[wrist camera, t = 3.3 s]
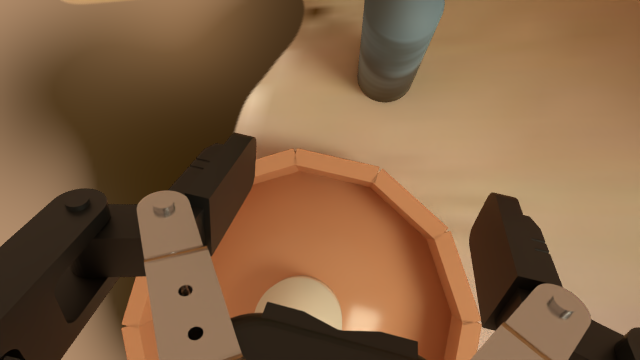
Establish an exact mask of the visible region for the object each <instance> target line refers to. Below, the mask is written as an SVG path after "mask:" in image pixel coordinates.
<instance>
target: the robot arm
mask: <svg viewBox="0 0 640 360" xmlns="http://www.w3.org/2000/svg"><path fill="white" fill-rule="evenodd" d="M255 164H256V138H255V137H251V136H247V135H243V134H238V133H233V134H232V135H231V136H230V137H229V139H228V140H227V141H226V142H225V144H224V145H223V144H218V143H215V144H213V145H211V146H209V147H207V148H206V149H204V150H203V151H202V152H201V153H200V154H199V156H198V157H197V158H196V160H194V161H193V162H192V163H191V165H190V167H188V168H187V169H186V170H185V171H184V173H183V174H182V175H181V176H180V177H179V178H178V179H177V180H176V182H175V183H174V184H173V185H172V186H171V187H170V189H169V190H168V191H158V192H154V193H152V194H150V195H147V196H146V197H144V198H143V199H142V200H141V201H140V202H139V203H138V204H134V205H123V204H122V205H119V204H108V202H107V198H106V196H105V195H104V194H103V193H102V192H100V191H98V190H94V189H76V190H72V191H68V192H66V193H63V194H61V195H59V196H58V197H56V198H55V199H54V200H53V201H51V202H50V203H49V204H48V205H47V206H46V207H45V208H44V209H42V210H41V211H40V212H39V213H38V214H37V215H36V216H35V217H33V218H32V219H31V220H30V221H29V222H28V223H27V224H26V225H24V226H23V227H22V228H21V229H20V230H19V231H18V232H16V233H15V234H14V235H13V236H12V237H11V238H10V239H9V240H7V241H6V242H5V243H4V244H3V245H2V246H1V247H0V360H61V358H62V357H63V355H64V354H65V353H66V351H67V350H68V348H69V347H70V346H71V344H72V343H73V342H74V340H75V339H76V337H77V336H78V335H79V333H80V332H81V330H82V329H83V328H84V326H85V325H86V323H87V322H88V321H89V319H90V318H91V316H92V315H93V314H94V312H95V311H96V309H97V308H98V307H99V305H100V303H101V302H102V301H103V300H104V298H105V297H106V295H107V294H108V293H109V291H110V290H111V288H112V287H113V285H114V284H115V283H116V281H117V280H118V279H119V277H142V276H146V279H147V286H148V292H149V299H150V305H151V312H152V318H153V325H154V331H155V338H156V344H157V351H158V357H159V360H426V359H425V358H423V357H422V356H420V355H418V341H414V340H410V339H407V338H403V337H399V336H395V335H392V334H388V333H384V332H380V331H344V330H338V329H336V328H334V327H332V326H330V325H328V324H327V323H325V322H323V321H321V320H319V319H317V318H315V317H313V316H312V315H310V314H308V313H306V312H304V311H301V310H297V309H294V308H290V307H286V306H282V305H278V304H275V303H271V302H267V303H266V306H265V309H264V311H263V313H248V314H243V315H238V316H235V317H232V318H230V316H229V313H228V309H227V306H226V303H225V300H224V297H223V294H222V291H221V287H220V284H219V281H218V278H217V275H216V272H215V269H214V266H213V262H212V259H211V256H212V255H213V254H214V252H215V250H216V249H217V247H218V245H219V243H220V242H221V240H222V238H223V237H224V235H225V233H226V231H227V230H228V228H229V226H230V225H231V223H232V221H233V220H234V218H235V216H236V214H237V213H238V211H239V209H240V208H241V206H242V204H243V203H244V201H245V199H246V197H247V196H248V194H249V192H250V190H251V188H252V186H253V182H254V178H255ZM469 246H470V252H471V258H472V265H473V271H474V278H475V284H476V290H477V297H478V303H479V310H480V316H481V322H482V327H483V328H487V329H491V330H495V332H494V333H493V334H492V336H491V337H490V338H489V339H488V340H487V341H486V342H485V344H484V345H483V346H482V347H481V348H480V349H479V350H478V351H477V353H476V354H475V355H474V356H473V357H472V358H471V359H470V360H640V328H633V329H631V330H630V331H629V332H628V333H627V334H626V335H624V336H623V335H621V334H619V333H617V332H615V331H613V330H611V329H609V328H607V327H605V326H603V325H601V324H599V323H597V322H595V321H593V320H592V319H591V315H590V313H589V311H588V309H587V307H586V306H585V304H584V303H583V302H582V301H581V300H580V299H579V298H578V297H577V296H576V295H574V294H573V293H572V292H570V291H568V290H567V289H565V288H563V287H562V284H561V281H560V279H559V276H558V274H557V271H556V268H555V266H554V263H553V261H552V258H551V255H550V254H549V250H548V248H547V245H546V244H545V240H544V237H543V235H542V232H541V229H540V228H539V227H538V226H537V225H536V223H535V222H534V221H533V220H532V219H531V218H530V217H529V216H525V215H523V213H522V210H521V207H520V205H519V202H518V199H517V198H514V197H510V196H506V195H501V194H497V193H491V194H490V195H489V196H488V198H487V199H486V201H485V203H484V205H483V207H482V209H481V211H480V213H479V215H478V217H477V219H476V221H475V223H474V225H473V227H472V229H471V233H470V238H469Z"/></svg>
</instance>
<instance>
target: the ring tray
mask: <svg viewBox="0 0 640 360" xmlns="http://www.w3.org/2000/svg"><path fill="white" fill-rule="evenodd" d="M378 170H379V167H378V166H373V165H369V164H364V163H360V162H356V161H351V160H347V159H342V158H338V157H334V156H329V155H325V154H320V153H316V152H312V151H307V150H303V149H298V148H297V150H296V152H295V151H294V149H289V150H286V151H283V152H279V153H276V154H272V155H269V156H266V157H262V158H259V159H256V164H255V178H254V182H253V186H252V188H251V190H250V192H249V194H248V196H247V197H246V199H245V201H244V203H243V204H242V206H241V208H240V209H239V211H238V213H237V214H236V216H235V218H234V220H233V221H232V223H231V225H230V226H229V228H228V230H227V231H226V233H225V235H224V237H223V238H222V240H221V242H220V243H219V245H218V247H217V249H216V250H215V252H214V254H213V255H212V256H211V259H212V262H213V266H214V269H215V272H216V275H217V278H218V281H219V284H220V287H221V291H222V294H223V297H224V300H225V303H226V306H227V309H228V313H229V316H230V318H232V317H235V316H238V315H243V314H248V313H263V311H264V309H265V306H266V303H267V302H271V303H275V304H278V305H282V306H286V307H290V308H294V309H297V310H301V311H304V312H306V313H308V314H310V315H312V316H313V317H315V318H317V319H319V320H321V321H323V322H325V323H327V324H328V325H330V326H332V327H334V328H336V329H338V330H344V331H380V332H384V333H388V334H392V335H395V336H399V337H403V338H407V339H410V340H414V341H418V355H420V356H422V357H423V358H425V359H426V360H470V359H471V358H472V357H473V356H474V355H475V354H476V353H477V348H478V343H479V337H480V331H481V326H482V324H480V323H478V322H477V321H481V318H480V315H479V312H478V309H477V306H476V303H475V300H474V298H473V295H472V292H471V289H470V286H469V283H468V280H467V277H466V274H465V272H464V269H463V266H462V263H461V260H460V257H459V254H458V251H457V249H456V246H455V243H454V240H453V237H452V234H451V231H448V232H445V231H446V230H447V229H448V227H447V226H446V225H444V224H443V223H442V222H441V221H440V220H439V219H438V218H437V217H436V216H435V215H433V214H432V213H431V212H430V211H429V210H428V209H427V208H426V207H425V206H423V205H422V204H421V203H420V202H419V201H418V200H417V199H416V198H415V197H413V196H412V195H411V194H410V193H409V192H408V191H407V190H406V189H405V188H403V187H402V186H401V185H400V184H399V183H398V182H397V181H396V180H395V179H394V178H392V177H391V176H390V175H389V174H388V173H387V172H386V171H385V170H384V169H382V170H381V171H380V172H379V173H378ZM122 325H126V327H123V328H122V335H123V340H124V345H125V350H126V356H127V360H159V357H158V351H157V344H156V338H155V331H154V325H153V318H152V312H151V305H150V299H149V292H148V286H147V279H146V276H142V277H136V279H135V282H134V285H133V289H132V292H131V295H130V298H129V302H128V305H127V308H126V311H125V315H124V318H123V321H122Z"/></svg>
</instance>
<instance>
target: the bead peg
mask: <svg viewBox="0 0 640 360" xmlns="http://www.w3.org/2000/svg"><path fill="white" fill-rule="evenodd" d="M444 5H445V2H444V0H365V4H364V14H363V24H362V35H361V45H360V55H359V66H358V83H359V86H360V88H361V90H362V91H363V92H364V94H365V95H366V96H368V97H369V98H371V99H373V100H375V101H378V102H392V101H395V100H397V99H399V98H401V97H402V96H404V95H405V94H406V92H407V91H408V90H409V88H410V86H411V84H412V82H413V79H414V77H415V75H416V73H417V70H418V68H419V66H420V63H421V61H422V59H423V57H424V54H425V52H426V50H427V48H428V45H429V43H430V41H431V39H432V36H433V34H434V32H435V30H436V27H437V25H438V23H439V21H440V18H441V16H442V14H443V11H444Z"/></svg>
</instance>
